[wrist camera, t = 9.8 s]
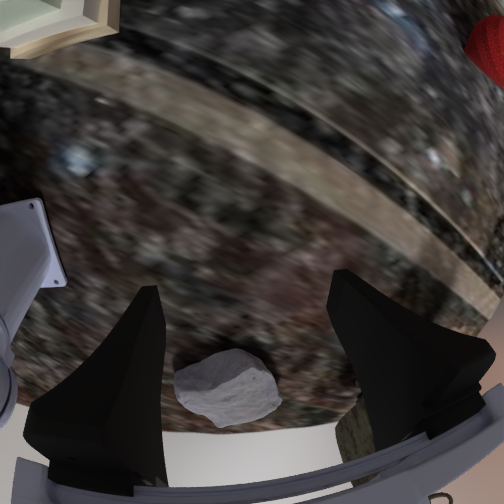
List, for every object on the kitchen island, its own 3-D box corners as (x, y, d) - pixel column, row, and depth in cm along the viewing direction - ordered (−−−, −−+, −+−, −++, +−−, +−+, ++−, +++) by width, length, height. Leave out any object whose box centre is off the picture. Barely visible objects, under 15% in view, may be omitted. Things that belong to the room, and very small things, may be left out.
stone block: (240, 327, 30) (163, 372, 29) (256, 359, 26) (171, 407, 25) (280, 375, 37) (217, 410, 36) (296, 402, 33) (228, 438, 32)
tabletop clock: (359, 403, 42) (410, 528, 21) (317, 404, 39) (366, 550, 18) (417, 345, 36) (495, 484, 15) (378, 341, 33) (466, 514, 12)
